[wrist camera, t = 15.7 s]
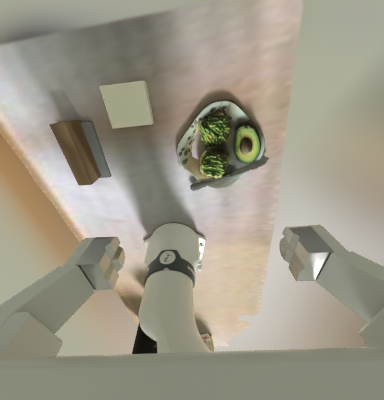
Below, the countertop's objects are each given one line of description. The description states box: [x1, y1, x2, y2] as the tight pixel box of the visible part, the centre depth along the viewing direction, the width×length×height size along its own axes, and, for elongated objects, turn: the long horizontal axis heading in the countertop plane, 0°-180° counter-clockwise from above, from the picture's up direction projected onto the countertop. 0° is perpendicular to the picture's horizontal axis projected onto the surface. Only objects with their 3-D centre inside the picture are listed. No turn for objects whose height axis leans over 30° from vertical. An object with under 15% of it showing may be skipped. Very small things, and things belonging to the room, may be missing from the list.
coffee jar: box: [132, 323, 157, 354], centre depth 70 cm, size 11×11×18 cm
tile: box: [99, 81, 154, 129], centre depth 32 cm, size 7×2×8 cm
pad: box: [80, 121, 111, 178], centre depth 37 cm, size 12×7×1 cm, turn 4°
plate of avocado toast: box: [177, 100, 269, 191], centre depth 36 cm, size 19×18×5 cm
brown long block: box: [50, 120, 101, 185], centre depth 34 cm, size 3×12×4 cm, turn 4°
